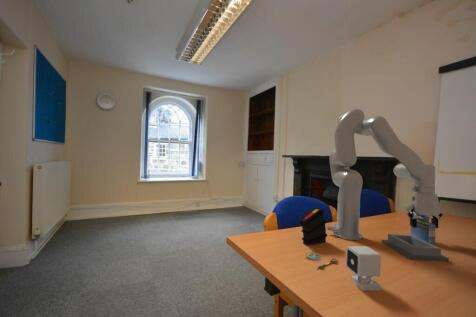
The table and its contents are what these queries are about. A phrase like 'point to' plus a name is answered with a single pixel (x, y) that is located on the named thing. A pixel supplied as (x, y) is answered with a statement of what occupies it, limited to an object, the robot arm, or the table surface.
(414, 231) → the label tape box
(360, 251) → the security camera
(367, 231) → the table surface
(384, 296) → the table surface
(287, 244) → the table surface
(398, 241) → the slot holder
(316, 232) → the black ridged block
